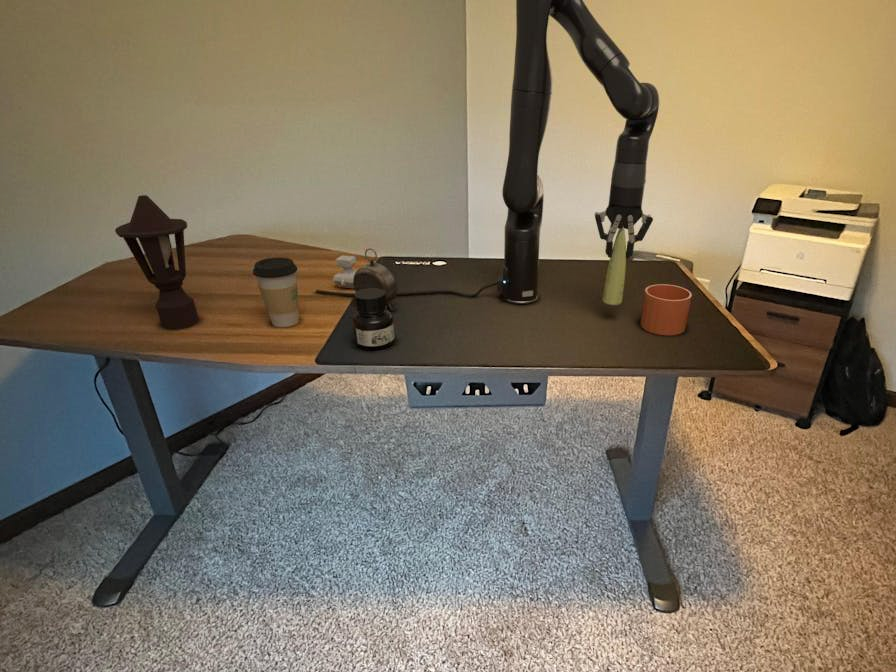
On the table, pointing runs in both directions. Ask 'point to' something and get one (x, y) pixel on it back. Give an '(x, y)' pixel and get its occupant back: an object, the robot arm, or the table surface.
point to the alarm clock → (375, 279)
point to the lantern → (161, 260)
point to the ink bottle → (372, 320)
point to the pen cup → (665, 309)
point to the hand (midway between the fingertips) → (618, 256)
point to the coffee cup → (278, 289)
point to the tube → (616, 271)
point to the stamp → (345, 271)
